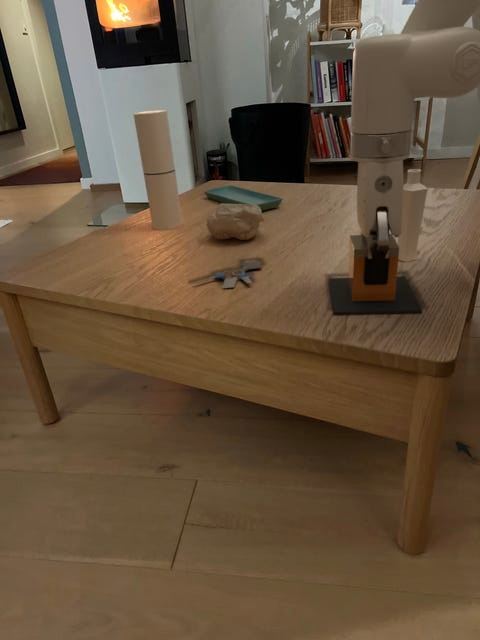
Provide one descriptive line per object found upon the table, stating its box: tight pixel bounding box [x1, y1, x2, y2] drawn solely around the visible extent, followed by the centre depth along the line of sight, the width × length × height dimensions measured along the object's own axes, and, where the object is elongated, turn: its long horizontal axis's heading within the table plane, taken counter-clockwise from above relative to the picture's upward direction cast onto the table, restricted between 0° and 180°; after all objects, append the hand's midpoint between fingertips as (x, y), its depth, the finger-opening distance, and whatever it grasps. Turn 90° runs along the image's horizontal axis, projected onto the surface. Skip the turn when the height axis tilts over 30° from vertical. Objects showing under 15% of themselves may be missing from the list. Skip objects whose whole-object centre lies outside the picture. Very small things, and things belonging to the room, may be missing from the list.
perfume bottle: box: [397, 168, 429, 263], centre depth 80 cm, size 5×4×15 cm
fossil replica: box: [206, 203, 265, 241], centre depth 99 cm, size 12×8×10 cm
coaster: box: [328, 275, 423, 316], centre depth 71 cm, size 12×12×1 cm
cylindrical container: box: [133, 109, 183, 231], centre depth 108 cm, size 7×7×25 cm
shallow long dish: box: [203, 184, 284, 212], centre depth 127 cm, size 26×9×2 cm, turn 32°
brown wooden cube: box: [348, 233, 399, 301], centre depth 69 cm, size 8×6×6 cm
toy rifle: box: [193, 260, 263, 289], centre depth 81 cm, size 14×8×1 cm, turn 133°
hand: (372, 273), depth 70 cm, fingers closed on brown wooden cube, 6 cm apart
